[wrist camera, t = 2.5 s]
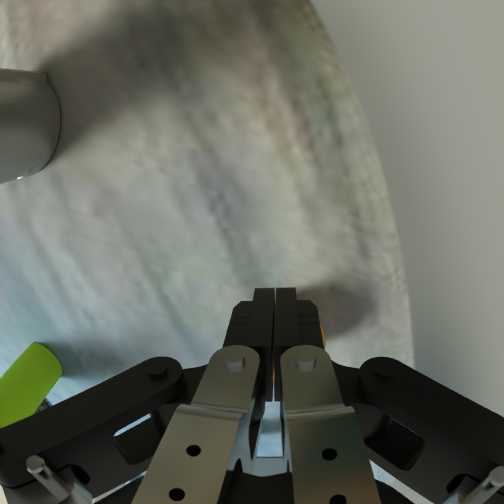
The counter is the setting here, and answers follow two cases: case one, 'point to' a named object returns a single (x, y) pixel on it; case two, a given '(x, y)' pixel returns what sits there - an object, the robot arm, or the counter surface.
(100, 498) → the seated beast figurine
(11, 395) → the soap dispenser
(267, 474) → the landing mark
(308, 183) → the counter surface
